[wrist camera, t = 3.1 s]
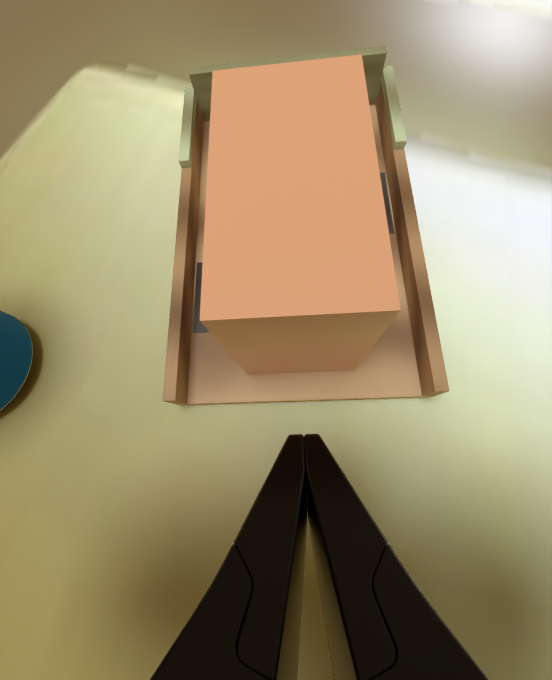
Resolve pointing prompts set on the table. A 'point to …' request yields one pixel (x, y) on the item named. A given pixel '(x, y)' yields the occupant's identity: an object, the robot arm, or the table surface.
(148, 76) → the table surface
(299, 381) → the box
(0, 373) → the beverage can
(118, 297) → the table surface
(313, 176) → the brick
